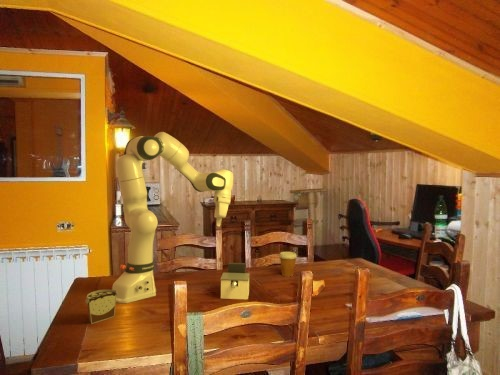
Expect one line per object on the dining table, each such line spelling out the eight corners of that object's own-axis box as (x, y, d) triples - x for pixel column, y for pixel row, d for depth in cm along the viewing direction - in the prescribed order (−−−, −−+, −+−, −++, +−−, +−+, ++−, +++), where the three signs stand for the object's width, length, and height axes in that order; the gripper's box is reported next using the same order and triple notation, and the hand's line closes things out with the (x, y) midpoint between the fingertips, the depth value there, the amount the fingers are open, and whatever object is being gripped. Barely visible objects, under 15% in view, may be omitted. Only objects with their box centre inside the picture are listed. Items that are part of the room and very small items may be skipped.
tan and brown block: (109, 311, 155) (109, 287, 154) (117, 315, 151) (117, 290, 150) (79, 320, 145) (78, 294, 145) (87, 325, 141) (87, 298, 141)
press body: (223, 291, 183) (223, 272, 182) (249, 292, 182) (249, 273, 182) (220, 298, 172) (220, 278, 172) (248, 299, 172) (248, 279, 171)
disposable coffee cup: (297, 277, 207) (297, 255, 206) (279, 277, 207) (279, 255, 207) (295, 273, 216) (296, 251, 216) (278, 272, 217) (278, 251, 216)
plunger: (228, 285, 185) (228, 262, 184) (245, 286, 184) (245, 263, 184) (224, 297, 168) (224, 272, 168) (242, 297, 168) (242, 272, 167)
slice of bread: (309, 297, 177) (309, 289, 176) (288, 286, 193) (288, 279, 192) (340, 292, 185) (340, 284, 185) (317, 282, 201) (317, 275, 201)
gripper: (213, 200, 214) (209, 225, 212) (218, 197, 194) (214, 225, 192) (225, 202, 215) (221, 227, 213) (231, 200, 195) (226, 227, 193)
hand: (218, 226), depth 202 cm, fingers closed
